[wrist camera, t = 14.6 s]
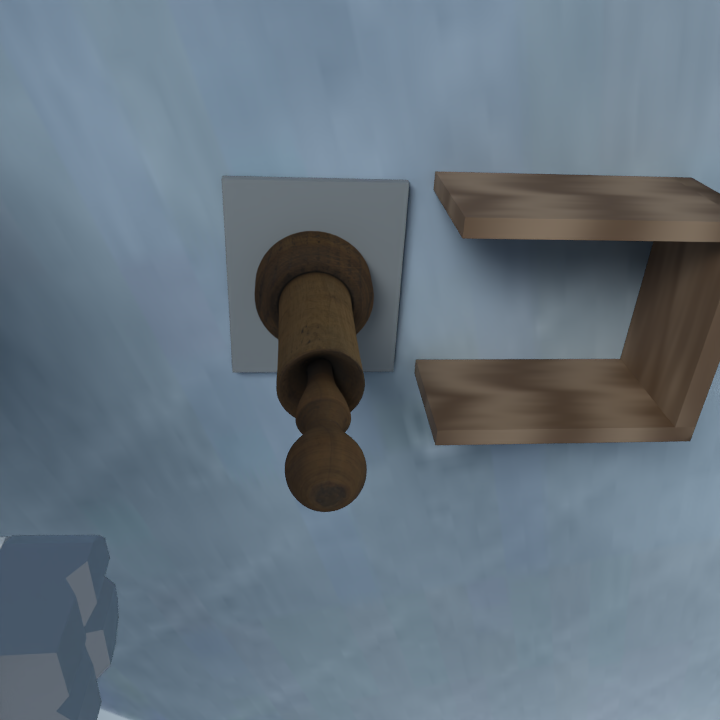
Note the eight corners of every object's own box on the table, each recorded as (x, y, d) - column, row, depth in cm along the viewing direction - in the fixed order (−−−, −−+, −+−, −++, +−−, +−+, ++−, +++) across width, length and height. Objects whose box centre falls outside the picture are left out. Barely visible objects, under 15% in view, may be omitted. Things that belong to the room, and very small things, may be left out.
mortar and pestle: (371, 228, 38) (426, 417, 23) (369, 330, 41) (416, 555, 26) (251, 231, 38) (224, 425, 22) (259, 334, 41) (240, 566, 26)
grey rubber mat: (233, 367, 43) (232, 372, 42) (222, 175, 36) (221, 179, 36) (391, 366, 44) (393, 371, 43) (407, 180, 37) (409, 183, 37)
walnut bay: (414, 373, 44) (435, 445, 38) (435, 171, 37) (465, 217, 31) (633, 371, 45) (689, 441, 39) (691, 177, 39) (770, 222, 32)
